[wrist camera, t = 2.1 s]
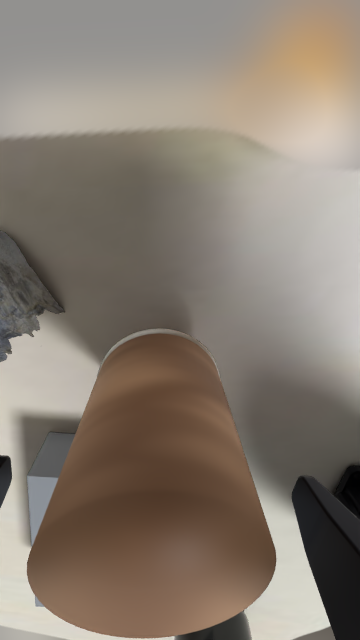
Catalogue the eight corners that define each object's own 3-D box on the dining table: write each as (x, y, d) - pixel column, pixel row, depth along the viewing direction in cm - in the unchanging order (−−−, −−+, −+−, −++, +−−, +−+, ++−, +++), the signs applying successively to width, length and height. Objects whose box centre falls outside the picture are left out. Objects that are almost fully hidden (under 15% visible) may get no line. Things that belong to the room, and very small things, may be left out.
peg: (219, 314, 15) (311, 496, 6) (200, 401, 17) (245, 639, 8) (111, 301, 14) (16, 479, 5) (105, 393, 16) (30, 639, 7)
